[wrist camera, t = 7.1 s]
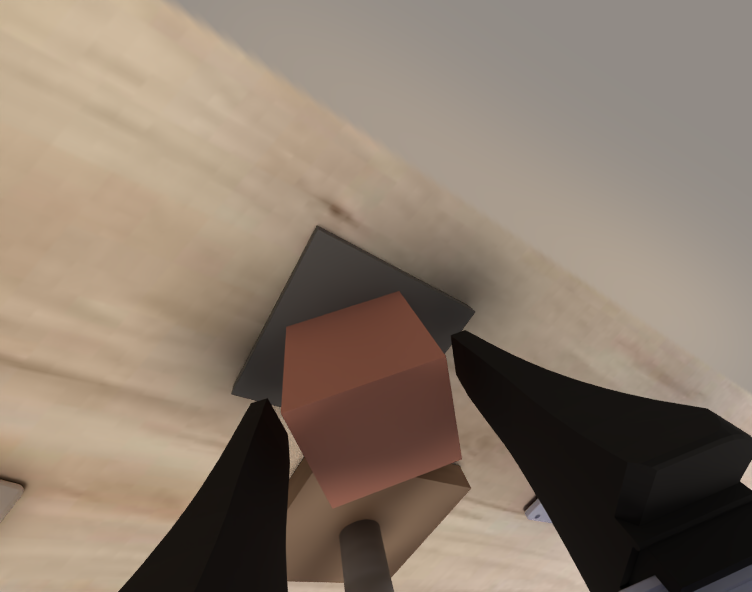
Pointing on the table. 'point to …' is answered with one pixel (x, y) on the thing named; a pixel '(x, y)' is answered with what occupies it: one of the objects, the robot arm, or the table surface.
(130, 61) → the table surface
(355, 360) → the terracotta cube
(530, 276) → the table surface
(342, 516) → the post block
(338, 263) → the mat
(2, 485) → the medicine bottle
